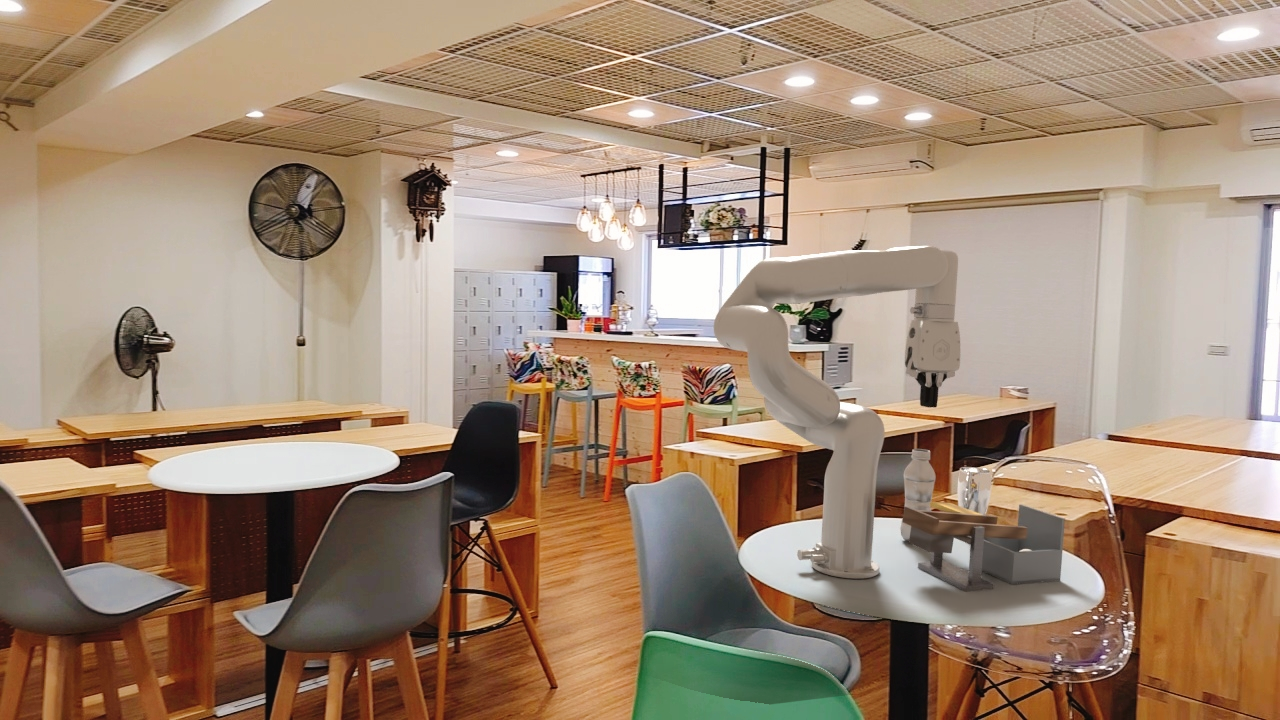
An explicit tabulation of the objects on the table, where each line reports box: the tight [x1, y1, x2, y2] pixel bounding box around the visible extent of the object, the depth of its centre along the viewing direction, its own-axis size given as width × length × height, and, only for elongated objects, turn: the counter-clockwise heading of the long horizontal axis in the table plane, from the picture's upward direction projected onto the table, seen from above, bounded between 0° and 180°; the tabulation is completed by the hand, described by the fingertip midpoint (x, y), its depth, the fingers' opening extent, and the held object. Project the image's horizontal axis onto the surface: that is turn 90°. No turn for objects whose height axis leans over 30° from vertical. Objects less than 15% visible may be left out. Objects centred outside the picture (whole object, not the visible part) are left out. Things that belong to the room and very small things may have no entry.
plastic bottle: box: [899, 448, 937, 542], centre depth 188 cm, size 6×7×20 cm
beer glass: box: [956, 466, 992, 538], centre depth 195 cm, size 7×7×15 cm
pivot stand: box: [917, 526, 995, 592], centre depth 164 cm, size 6×14×11 cm, turn 18°
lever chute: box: [901, 500, 1028, 554], centre depth 169 cm, size 21×19×6 cm
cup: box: [982, 504, 1066, 585], centre depth 169 cm, size 11×11×12 cm
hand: (928, 406), depth 173 cm, fingers closed
